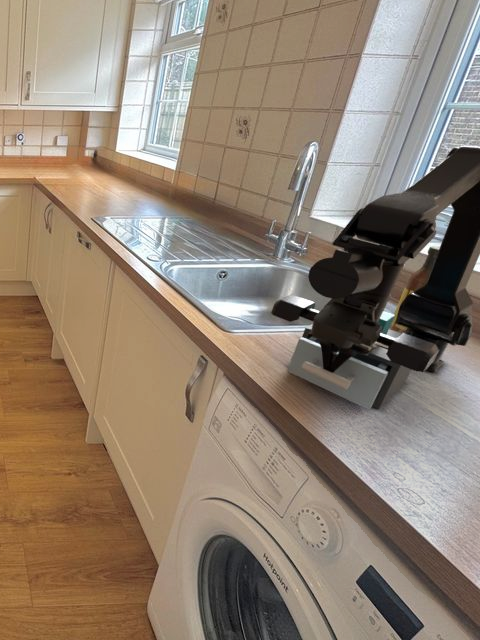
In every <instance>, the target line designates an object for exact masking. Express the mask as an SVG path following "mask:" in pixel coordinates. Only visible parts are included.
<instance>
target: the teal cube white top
mask: <svg viewBox="0 0 480 640" xmlns="http://www.w3.org/2000/svg"><path fill="white" fill-rule="evenodd" d="M394 317H395V315H394V313H390V312H387V311H385V310H384V311H383V313H382V315H381V317H380V319H379V322H378V323H380V324H382V330H381V333H382V334H385V335H386V334H387V332H388V330H389V328H390V326H391V324H392V322H393V319H394Z"/></svg>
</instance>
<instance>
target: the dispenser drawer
mask: <svg viewBox="0 0 480 640" xmlns="http://www.w3.org/2000/svg"><path fill="white" fill-rule="evenodd" d="M340 350H341V347H339V349H338V352H337V355H338V353H339V352H340ZM337 355H336V356H337ZM391 368H392V366H390V365H387V364H385V363H382V362H380V361H377V360H375V359H372V358H370V357H367V356H365V355H361V354H358V353H357V354H356V355H354V356H352V357H351V358H349V359H348V360H347V361H346V362H345V363H344V364H343V365H342V366H340V367H339V368H338V369H337V370H336V371H335V372H334V373H331V372H329V371H327V370H325V369H323V359H322V350H321V346H320V342H319V341H318V339H317V338H316V337H314V336H312V337H310V338H309V340H308V339H306V338H303V337H302V336H301V337H300V338H298V340H297V344H296V345H295V348H294V351H293V354H292V356H291V358H290V361H289V365H288V367H287V370H286V371H287V372H289V373H291V374H292V375H295V376H297V377H299V378H301V379H303V380H305V381H307V382H308V383H312V384H314V385H316V386H318V387H320V388H322V389H324V390H326V391H327V392H328V391H329V392H331V393H332V394H335V395H337V396H339V397H341V398H344V399H345V400H346V401H349V402H352V403H354V404H355V405H357V406H360V407H362V408H364V409H366V410H369V411H370V409H371V408H372V407H373V406H372V405H373V403H374V401H375V399H376V397H377V395H378V392H379V391H380V390H381V388H382V386H383V384H384V382H385V380H386V378H387V376H388V374H389V372H390V370H391Z"/></svg>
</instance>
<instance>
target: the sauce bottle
mask: <svg viewBox="0 0 480 640" xmlns="http://www.w3.org/2000/svg"><path fill="white" fill-rule="evenodd" d="M439 248H440V246H436V245H431V246H429V248H428V249H427V256H426V258H425V260H424V262H423V263H422V266H421V268H419V269H418V270H416V271H415V272H412V274H411V275H410V277H409V278H408V281H407V283H406V286H404V289H403V291H402V293H401V296H400V299H399V301H398V303H397V306H396V308H395V310H394V313H393V314H394V315H395V317H394V319H393V322H392V324H391V326H390V328H389V329H390V330H393V331H396V332H399V333H402V334H403V333H405V331H406V329H407V327H404V326H402V325H398V324H395V322H396V318H397V314H398V311H399V307H400V305H401V303H402V302H403V300H404V299H405V298H406V297H407V296H408V295H409V294H411V293H412V292H414V291H416V290H418V289H419V288H421V287H423V286H425V285H426V282H427V280H428V277H429V275H430V272H431V269H432V267H433V264H434V262H435V259H436V256H437V254H438V251H439Z"/></svg>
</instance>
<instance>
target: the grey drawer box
mask: <svg viewBox="0 0 480 640" xmlns="http://www.w3.org/2000/svg"><path fill="white" fill-rule="evenodd" d="M312 326H313V323H311V324H309V325H307V326H306V327H304V330H303V333H302V336H301V337H303V338H306V339H308V340H309V338H310V337H312V335H311V334H310V332H309V331H310V330H311V329H312ZM401 334H402V333H399V332H396V331H393V330H390V329H389V330H388V332H387V334H386V335H387V336H390V337H393V338H398V337H399V336H400V335H401ZM387 351H388V350H387V349H384V348H382V347H379V346H378V348H376V349H375V350H374V351H372V352H371V353H370V354H369V355H365V356H367V357H370V358H372V359H375V360H377V361H380V362H382V363H385V364H387V365H390V366H392V368H391V370H390V372H389V374H388V376H387V378H386V380H385V382H384V384H383V386H382V388H381V390H380V391H379V392H378V395H377V397H376V399H375V401H374V403H373V405H372V407H374V408H375V409H378V410H379V409H381V408H382V406H383V405H385V404H386V403H387V401H388V400H390V398H391V397H392V396H393V395H394V394H395V393H397V392H398V390H400V388H401V387H403V385H405V383H406V382H407V379H408V377H409V375H410V374H411V372H412V370H411V369H409V368H406V367H404V366H401V365H399V364H396V363H394V362H391V361H390V359H389V358H388V356H387V355H386V353H387Z"/></svg>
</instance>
